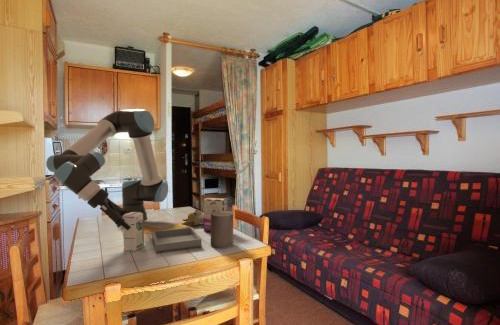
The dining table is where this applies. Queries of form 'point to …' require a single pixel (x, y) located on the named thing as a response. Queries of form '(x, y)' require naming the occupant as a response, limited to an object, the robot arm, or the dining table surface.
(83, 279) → the dining table surface
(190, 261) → the dining table surface
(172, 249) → the tray
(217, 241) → the pillar candle
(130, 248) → the syrup box
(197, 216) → the ceramic sculpture
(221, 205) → the candy bar box
